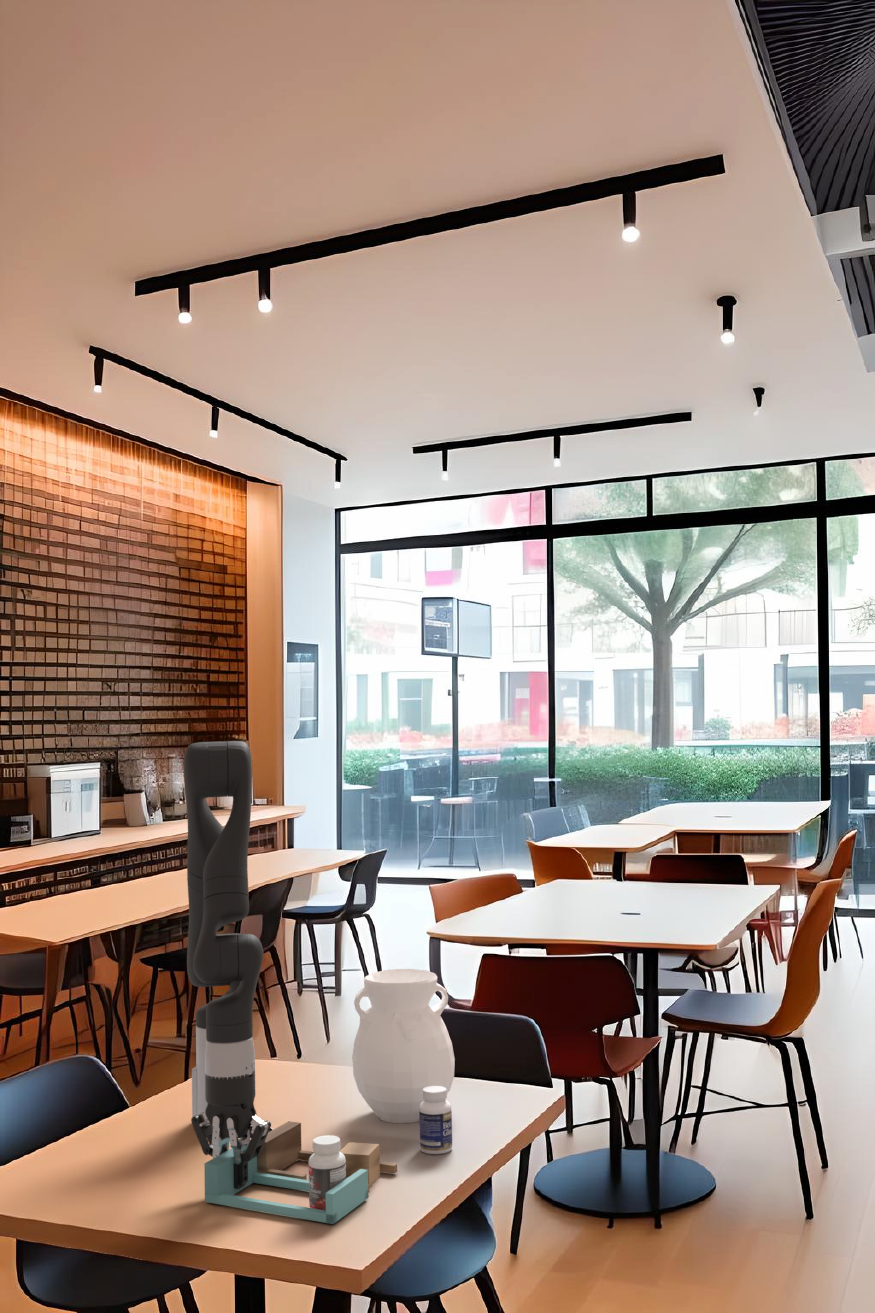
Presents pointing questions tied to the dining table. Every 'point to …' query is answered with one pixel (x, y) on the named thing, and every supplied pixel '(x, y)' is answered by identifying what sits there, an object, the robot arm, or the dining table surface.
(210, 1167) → the frame
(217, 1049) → the robot arm
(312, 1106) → the dining table surface
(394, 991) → the white vase
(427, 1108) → the pill bottle
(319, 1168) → the pill bottle
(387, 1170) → the walnut lane broken
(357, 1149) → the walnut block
